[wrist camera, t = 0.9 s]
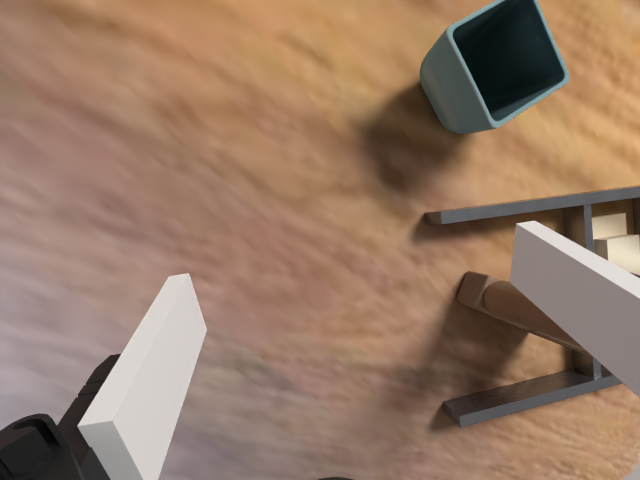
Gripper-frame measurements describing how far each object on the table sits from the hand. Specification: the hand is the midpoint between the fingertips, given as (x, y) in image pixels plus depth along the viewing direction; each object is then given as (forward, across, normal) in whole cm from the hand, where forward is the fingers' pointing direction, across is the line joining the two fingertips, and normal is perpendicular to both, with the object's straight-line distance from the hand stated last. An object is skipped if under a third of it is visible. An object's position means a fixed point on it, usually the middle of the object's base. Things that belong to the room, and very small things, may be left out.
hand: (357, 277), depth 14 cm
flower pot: (+27, -15, -4) cm, 31 cm away
